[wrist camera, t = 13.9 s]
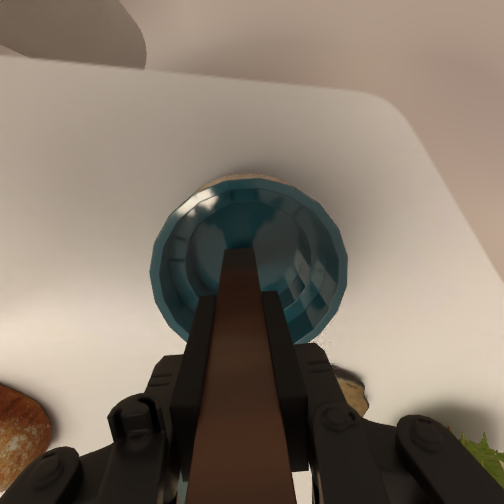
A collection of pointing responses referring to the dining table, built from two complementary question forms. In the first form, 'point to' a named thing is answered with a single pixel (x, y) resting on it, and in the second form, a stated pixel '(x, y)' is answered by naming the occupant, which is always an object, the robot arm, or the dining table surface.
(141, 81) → the dining table surface
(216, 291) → the bowl
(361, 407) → the ceramic shard
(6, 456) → the bread roll
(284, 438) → the stick
